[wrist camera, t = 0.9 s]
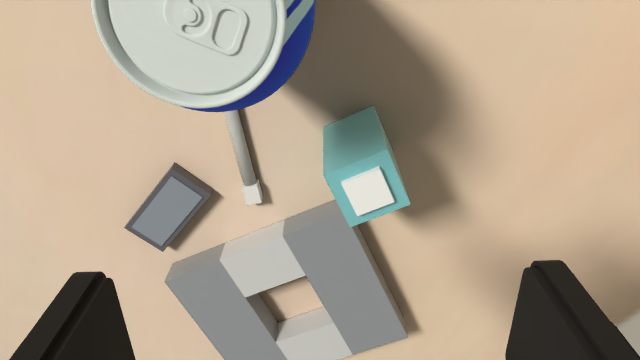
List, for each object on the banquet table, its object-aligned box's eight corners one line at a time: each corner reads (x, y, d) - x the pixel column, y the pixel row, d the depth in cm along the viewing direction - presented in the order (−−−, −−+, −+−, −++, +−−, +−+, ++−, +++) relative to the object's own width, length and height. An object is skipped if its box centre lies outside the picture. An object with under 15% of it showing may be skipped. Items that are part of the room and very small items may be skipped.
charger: (373, 105, 34) (388, 151, 26) (393, 151, 35) (411, 207, 28) (323, 126, 35) (323, 178, 27) (344, 170, 36) (350, 231, 29)
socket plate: (343, 196, 37) (344, 212, 35) (403, 317, 43) (407, 337, 41) (172, 263, 40) (164, 281, 38) (250, 368, 46) (246, 388, 44)
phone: (174, 162, 36) (170, 168, 35) (213, 189, 37) (210, 195, 36) (128, 221, 38) (123, 228, 37) (166, 244, 39) (162, 252, 38)
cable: (211, 65, 32) (208, 68, 32) (228, 62, 32) (225, 65, 31) (248, 198, 37) (246, 205, 36) (263, 196, 37) (261, 203, 36)
